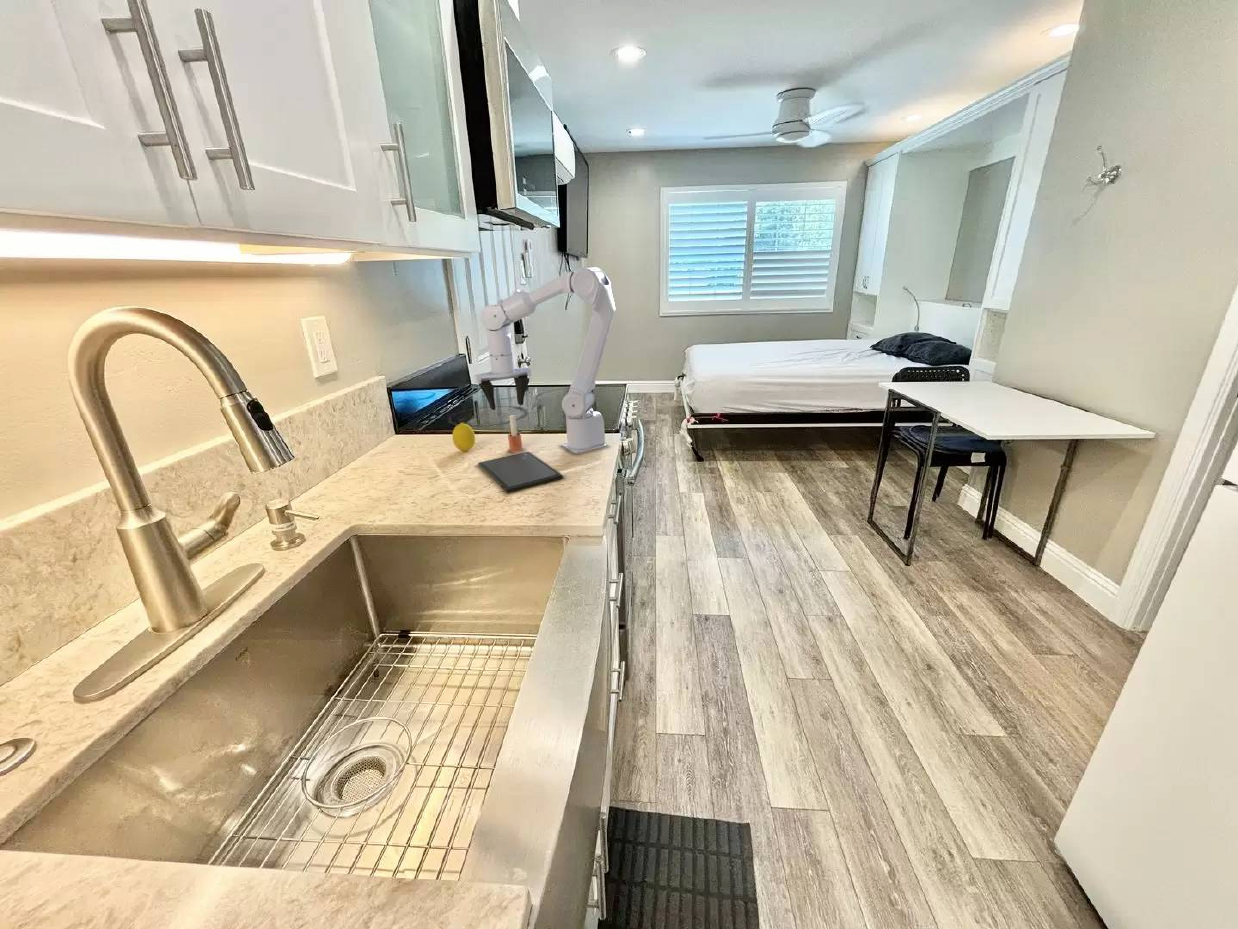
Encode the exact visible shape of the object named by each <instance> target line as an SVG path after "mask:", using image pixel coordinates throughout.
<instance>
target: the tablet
mask: <svg viewBox="0 0 1238 929" xmlns="http://www.w3.org/2000/svg"><path fill="white" fill-rule="evenodd" d="M477 464H478V466H479V467H480V468H482V469H483V470H484V471H485V472H486V473H487V474H488V475H489V476H490V477H491V478H493V480H495V481H496V482H497V483H498V485H500V488H502V490H503V491H504V492H506V493H507V494H510V493H513V492H517V491H521V490H525V489H528V488H533V487H536V486H540V485H543V484H547V483H551V482H555V481H558V480H562V479H563V474H561V473H560V472H558V471H557V469H554V468H553V467H552V466H550V465H548V464H547V463H546V462H544V461H543V460H542V459H540V458H538V456H535V455H534V454H533V453H531V452H530V451H524V452H519V453H515V454H512V455H511V454H510V455H506V456H502V457H497V458H493V459H488V460H485V461H479V462H478V463H477Z"/></svg>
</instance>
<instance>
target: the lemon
mask: <svg viewBox="0 0 1238 929" xmlns="http://www.w3.org/2000/svg"><path fill="white" fill-rule="evenodd" d="M452 442H453V445H454V446H455V448H456V449H458V450H459V451H462V452H469V451H470V450H472V449H473V447H474V446H475V444H476V433H475V431H474V429H473V428H472V427H471V426H470V425H469V424H467V423H464V422H460V423H459V424H457V425H456V426H455V427H454V428H453V430H452Z"/></svg>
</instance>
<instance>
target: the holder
mask: <svg viewBox="0 0 1238 929" xmlns="http://www.w3.org/2000/svg"><path fill="white" fill-rule="evenodd" d="M507 440H508V448H509V451H510V452H520V451H522V450H523V442H522V441H523V440H522V433H521V432H517V436H512V435H511V432H510V433H508V434H507Z"/></svg>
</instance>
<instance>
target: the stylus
mask: <svg viewBox="0 0 1238 929" xmlns="http://www.w3.org/2000/svg"><path fill="white" fill-rule="evenodd" d="M508 418H509V425H510V426H509V427H510V433H511V435H512V436H517V433H518V430H517V422H516V421H517V420H516V415H515V414H511V415H509V416H508Z"/></svg>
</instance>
